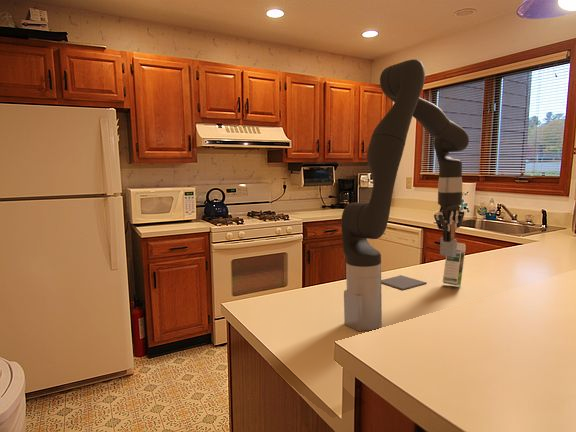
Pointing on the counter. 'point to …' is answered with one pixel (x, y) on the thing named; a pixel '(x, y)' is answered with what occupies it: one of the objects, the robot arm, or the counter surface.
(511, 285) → the counter surface
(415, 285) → the mat
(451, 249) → the brown piece
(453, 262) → the syrup box
